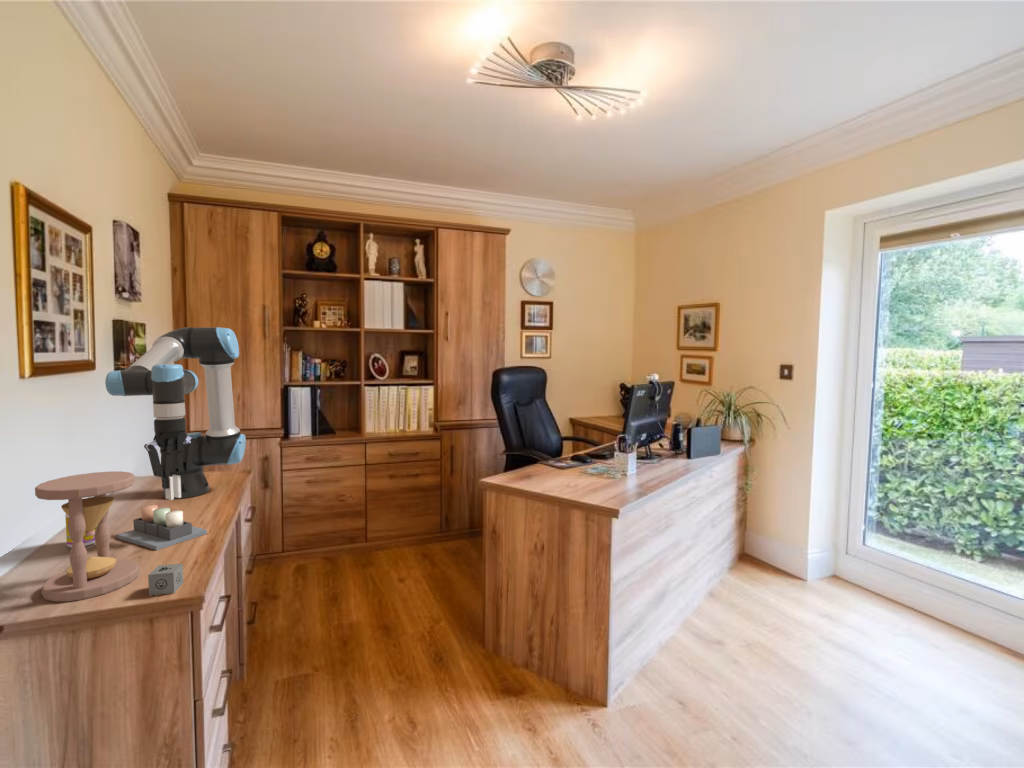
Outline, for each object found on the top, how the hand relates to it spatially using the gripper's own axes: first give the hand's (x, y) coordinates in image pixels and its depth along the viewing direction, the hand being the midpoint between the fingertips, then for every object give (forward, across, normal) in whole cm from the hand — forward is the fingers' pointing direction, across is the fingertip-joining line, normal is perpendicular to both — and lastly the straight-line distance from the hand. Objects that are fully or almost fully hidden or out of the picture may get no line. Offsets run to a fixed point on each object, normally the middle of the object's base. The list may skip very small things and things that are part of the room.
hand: (173, 497), depth 143 cm
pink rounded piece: (+9, 0, -13) cm, 16 cm away
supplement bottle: (+13, +14, -20) cm, 28 cm away
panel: (+12, 0, -6) cm, 14 cm away
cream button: (+9, 0, 0) cm, 9 cm away
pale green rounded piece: (+9, 0, -6) cm, 11 cm away
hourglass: (+13, +25, +12) cm, 30 cm away
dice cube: (+13, +19, +30) cm, 38 cm away
